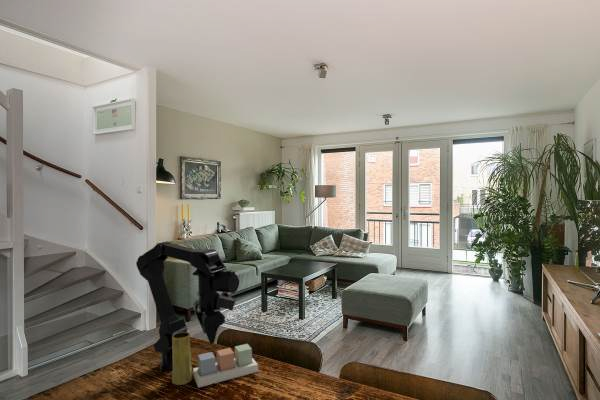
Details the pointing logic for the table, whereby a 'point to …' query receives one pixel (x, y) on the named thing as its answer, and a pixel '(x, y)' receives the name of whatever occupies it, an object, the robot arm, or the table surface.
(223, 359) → the salmon block
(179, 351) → the vase
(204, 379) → the button board
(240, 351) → the sage button
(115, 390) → the table surface
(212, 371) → the pale blue block
